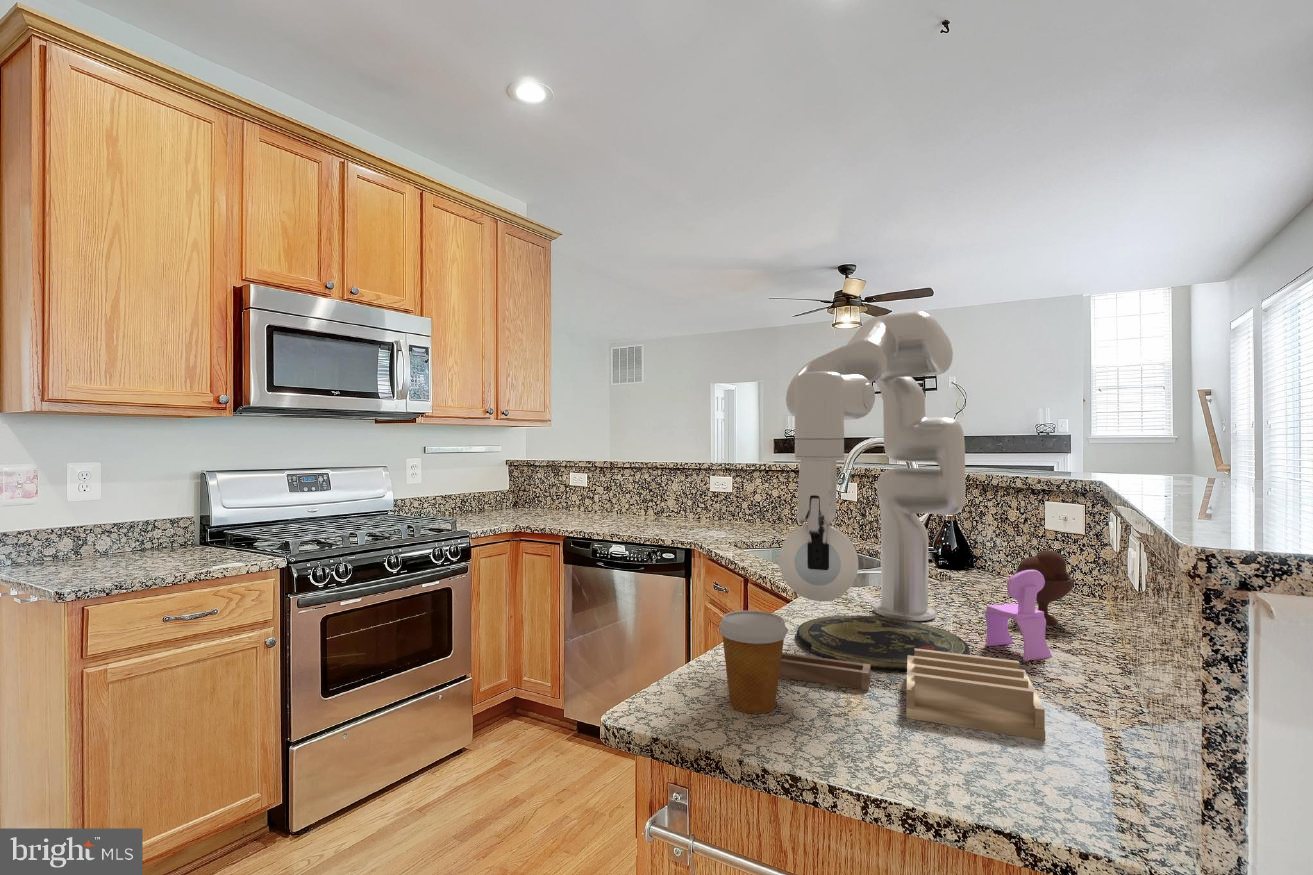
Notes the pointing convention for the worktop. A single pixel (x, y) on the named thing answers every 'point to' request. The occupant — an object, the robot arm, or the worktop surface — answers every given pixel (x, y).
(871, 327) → the robot arm
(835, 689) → the worktop surface
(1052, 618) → the ice cream bowl
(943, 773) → the worktop surface
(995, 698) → the dish rack
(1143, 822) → the worktop surface
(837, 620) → the decorative plate
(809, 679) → the plate stand
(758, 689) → the disposable coffee cup
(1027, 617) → the toy chair
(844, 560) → the side plate
